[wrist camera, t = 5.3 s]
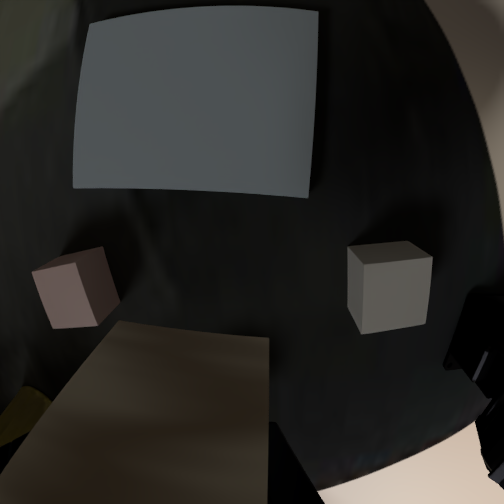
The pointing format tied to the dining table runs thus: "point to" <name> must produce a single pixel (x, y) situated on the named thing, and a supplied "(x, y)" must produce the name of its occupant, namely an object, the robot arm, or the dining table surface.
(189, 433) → the birch block
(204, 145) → the blue board
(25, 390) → the vase
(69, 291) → the pink block
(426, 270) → the off-white block
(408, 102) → the dining table surface
